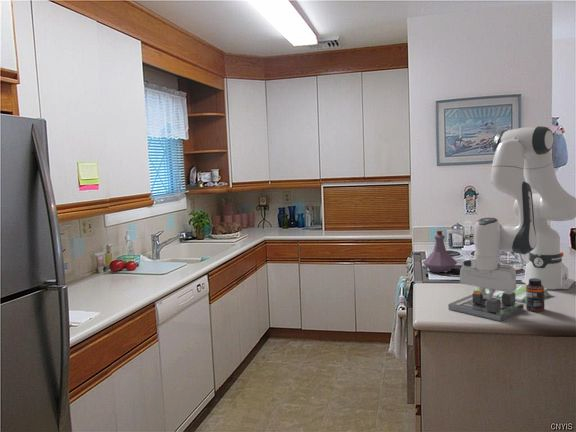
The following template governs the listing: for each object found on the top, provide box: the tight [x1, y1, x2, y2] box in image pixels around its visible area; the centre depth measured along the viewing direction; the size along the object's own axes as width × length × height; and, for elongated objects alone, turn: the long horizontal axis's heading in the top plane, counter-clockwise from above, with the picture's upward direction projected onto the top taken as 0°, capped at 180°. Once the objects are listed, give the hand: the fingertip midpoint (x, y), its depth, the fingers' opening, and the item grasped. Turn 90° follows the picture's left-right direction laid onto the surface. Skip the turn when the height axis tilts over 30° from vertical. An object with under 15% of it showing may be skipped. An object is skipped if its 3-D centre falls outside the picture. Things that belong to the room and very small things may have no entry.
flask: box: [422, 230, 458, 273], centre depth 238 cm, size 16×16×20 cm
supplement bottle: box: [525, 278, 545, 313], centre depth 174 cm, size 6×6×11 cm
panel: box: [447, 293, 525, 322], centre depth 178 cm, size 17×20×2 cm
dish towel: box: [473, 284, 549, 304], centre depth 196 cm, size 17×23×4 cm
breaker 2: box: [501, 292, 516, 305], centre depth 177 cm, size 4×3×4 cm
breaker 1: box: [487, 297, 501, 313], centre depth 170 cm, size 4×3×4 cm
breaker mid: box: [472, 290, 486, 304], centre depth 180 cm, size 4×3×4 cm
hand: (487, 299), depth 177 cm, fingers closed
